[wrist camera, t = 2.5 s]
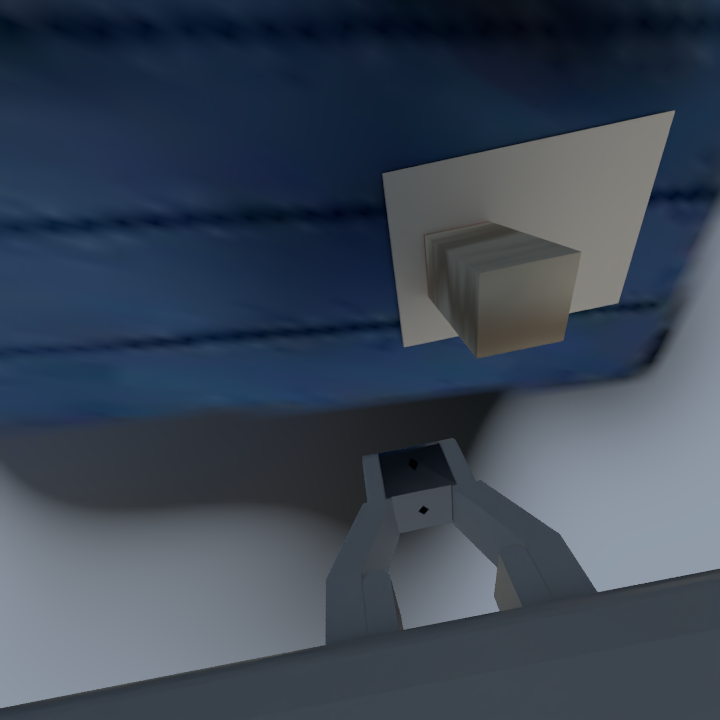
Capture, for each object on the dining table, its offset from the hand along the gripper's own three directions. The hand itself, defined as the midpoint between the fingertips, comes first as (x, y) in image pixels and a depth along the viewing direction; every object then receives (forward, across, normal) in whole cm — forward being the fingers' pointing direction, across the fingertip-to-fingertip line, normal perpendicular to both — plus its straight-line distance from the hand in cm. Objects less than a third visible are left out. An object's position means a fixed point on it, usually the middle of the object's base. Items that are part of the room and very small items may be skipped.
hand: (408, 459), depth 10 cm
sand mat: (+18, -13, -1) cm, 22 cm away
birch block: (+18, -8, -1) cm, 19 cm away
